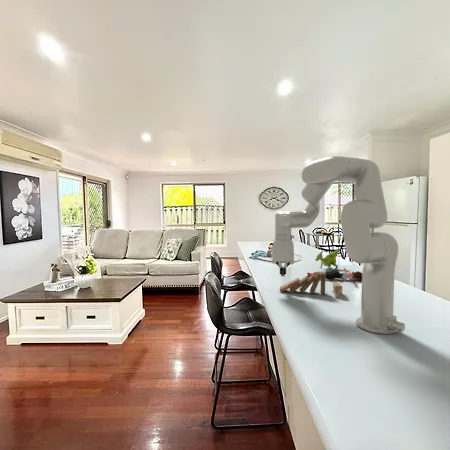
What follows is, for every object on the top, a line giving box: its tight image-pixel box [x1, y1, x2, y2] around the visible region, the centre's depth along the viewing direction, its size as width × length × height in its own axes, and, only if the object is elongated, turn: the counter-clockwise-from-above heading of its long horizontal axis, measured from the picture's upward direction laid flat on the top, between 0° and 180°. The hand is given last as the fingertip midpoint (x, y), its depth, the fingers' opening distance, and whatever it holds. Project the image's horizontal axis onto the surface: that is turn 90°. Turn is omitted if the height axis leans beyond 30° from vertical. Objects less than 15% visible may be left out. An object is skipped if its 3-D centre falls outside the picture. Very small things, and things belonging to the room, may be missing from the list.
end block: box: [332, 281, 343, 298], centre depth 134 cm, size 3×8×5 cm, turn 166°
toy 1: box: [315, 248, 341, 271], centre depth 193 cm, size 8×21×15 cm, turn 115°
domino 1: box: [279, 277, 301, 293], centre depth 140 cm, size 2×5×10 cm
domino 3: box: [299, 272, 317, 295], centre depth 138 cm, size 2×5×10 cm
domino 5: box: [320, 271, 326, 296], centre depth 136 cm, size 2×5×10 cm, turn 166°
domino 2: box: [289, 275, 310, 294], centre depth 139 cm, size 2×5×10 cm
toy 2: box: [306, 267, 362, 282], centre depth 164 cm, size 28×6×30 cm
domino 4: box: [309, 271, 322, 295], centre depth 137 cm, size 2×5×10 cm, turn 166°
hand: (282, 275), depth 140 cm, fingers closed
